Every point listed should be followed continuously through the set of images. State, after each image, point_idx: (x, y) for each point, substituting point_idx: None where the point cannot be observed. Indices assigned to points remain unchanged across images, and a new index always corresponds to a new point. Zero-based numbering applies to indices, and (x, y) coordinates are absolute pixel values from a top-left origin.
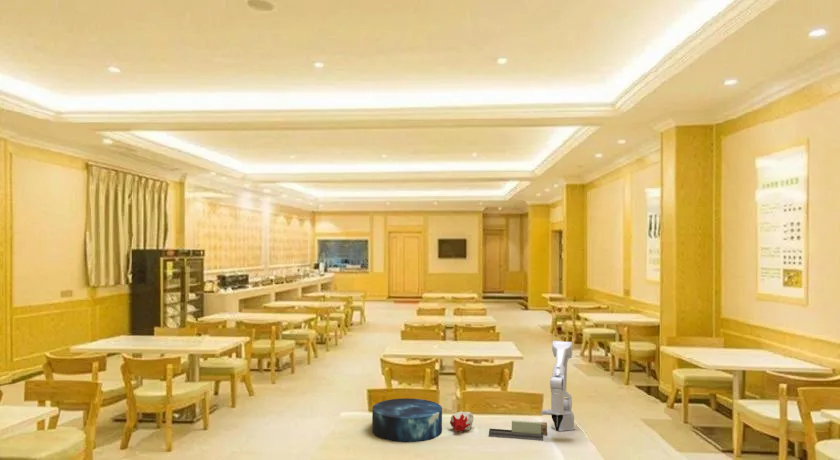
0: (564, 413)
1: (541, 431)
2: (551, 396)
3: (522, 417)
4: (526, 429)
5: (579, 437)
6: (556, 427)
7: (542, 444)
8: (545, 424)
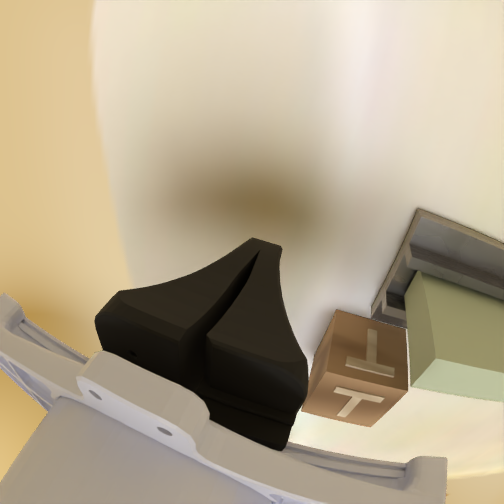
0: (30, 361)
1: (375, 340)
2: None
3: None
4: None
5: (126, 250)
6: (264, 260)
7: (457, 111)
8: (330, 388)
